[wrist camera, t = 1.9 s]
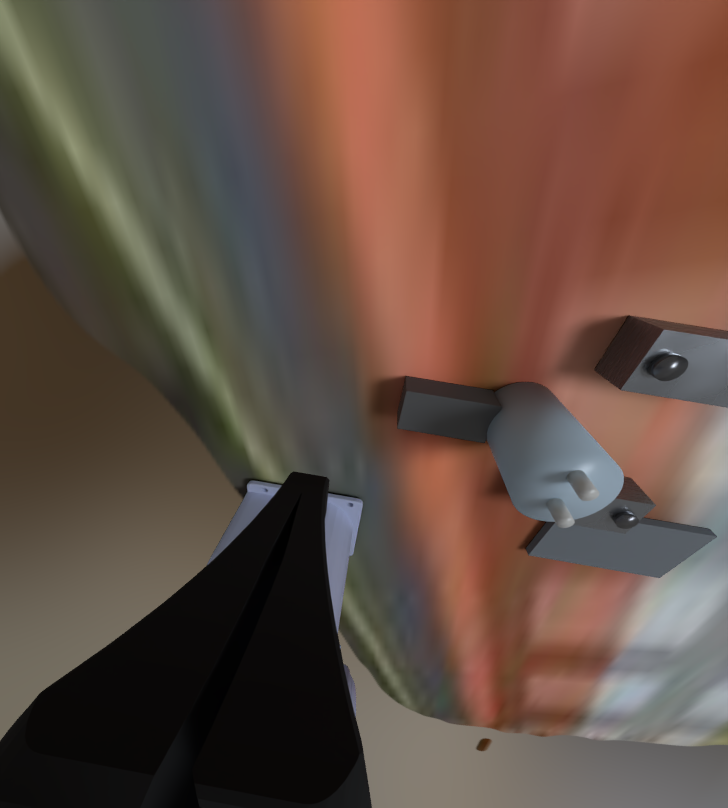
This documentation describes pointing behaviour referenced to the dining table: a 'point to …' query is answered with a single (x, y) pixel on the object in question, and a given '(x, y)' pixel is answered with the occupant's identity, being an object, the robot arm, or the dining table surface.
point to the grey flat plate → (622, 546)
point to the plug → (520, 444)
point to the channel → (659, 389)
